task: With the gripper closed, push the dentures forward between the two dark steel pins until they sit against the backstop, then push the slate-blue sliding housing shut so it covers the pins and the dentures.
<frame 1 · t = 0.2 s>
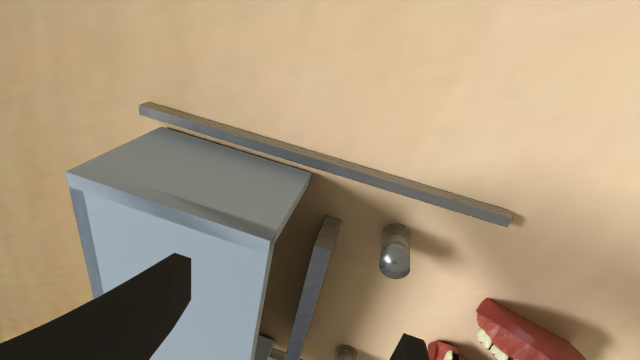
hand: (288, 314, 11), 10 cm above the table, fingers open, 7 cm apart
housing: (201, 286, 21), point 4 cm above the table, slide at 0.0 cm
dentures: (493, 339, 23), on the table
pin seat: (368, 301, 23), on the table
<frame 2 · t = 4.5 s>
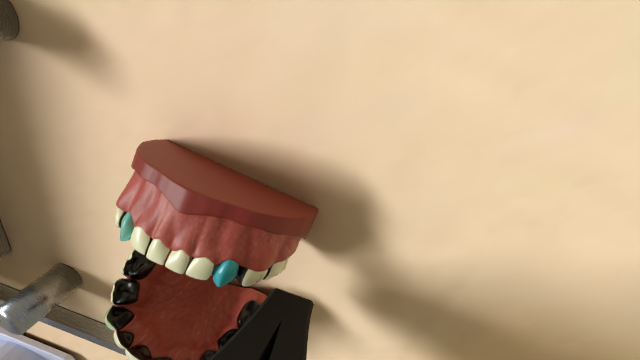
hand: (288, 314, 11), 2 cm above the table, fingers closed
dentures: (229, 230, 13), on the table, touching gripper
pin seat: (40, 174, 14), on the table
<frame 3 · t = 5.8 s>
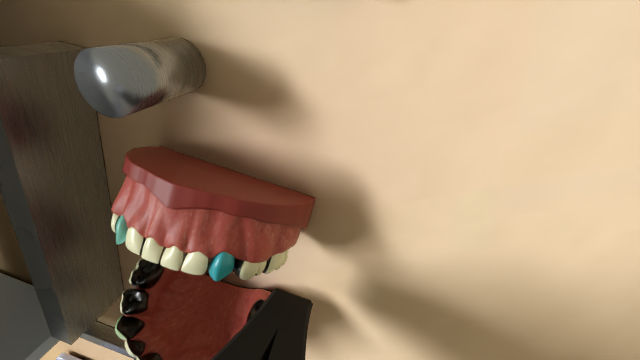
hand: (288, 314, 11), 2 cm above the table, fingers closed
dentures: (232, 232, 13), on the table, touching gripper
pin seat: (184, 222, 13), on the table
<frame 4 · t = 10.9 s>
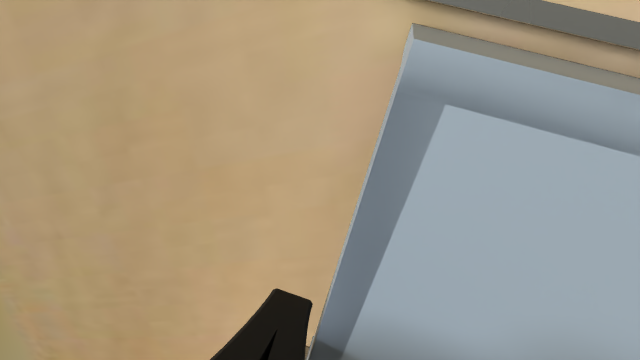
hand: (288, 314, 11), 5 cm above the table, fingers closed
housing: (465, 328, 12), point 4 cm above the table, slide at 0.1 cm, touching gripper
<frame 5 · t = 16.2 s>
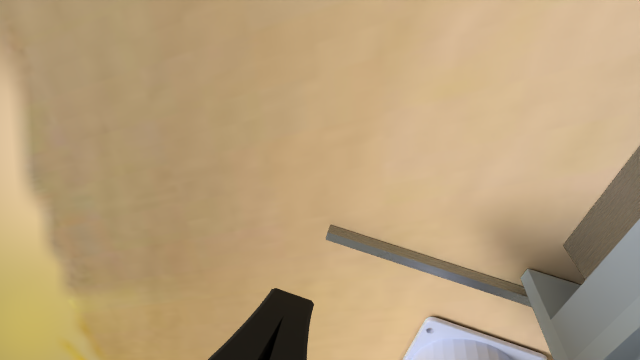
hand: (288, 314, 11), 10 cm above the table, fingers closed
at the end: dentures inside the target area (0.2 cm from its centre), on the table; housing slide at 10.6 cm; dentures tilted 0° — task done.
